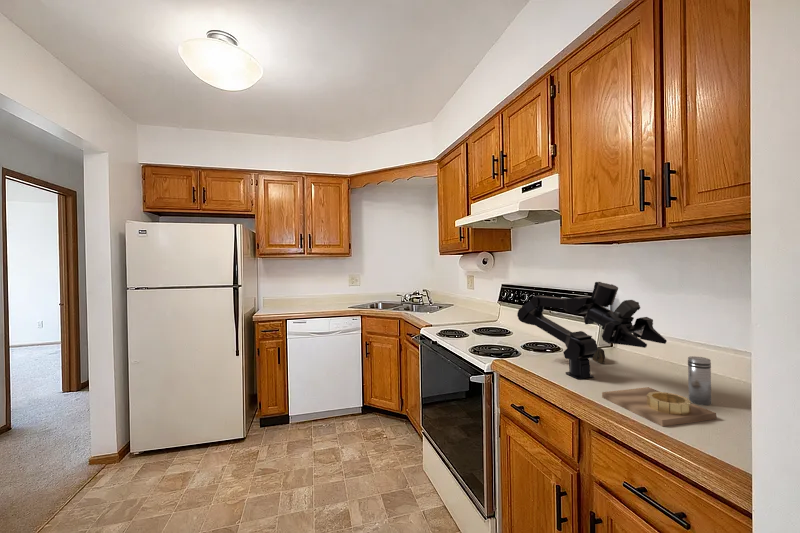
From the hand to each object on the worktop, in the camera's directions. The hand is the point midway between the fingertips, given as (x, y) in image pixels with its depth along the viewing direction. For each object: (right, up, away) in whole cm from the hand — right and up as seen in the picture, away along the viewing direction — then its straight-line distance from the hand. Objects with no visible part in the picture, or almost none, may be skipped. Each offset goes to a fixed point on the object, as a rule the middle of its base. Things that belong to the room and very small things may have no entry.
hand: (656, 344), depth 100 cm
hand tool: (+8, -16, +47) cm, 50 cm away
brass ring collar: (-3, -15, -8) cm, 17 cm away
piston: (+11, -16, -1) cm, 19 cm away
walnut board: (-4, -16, -4) cm, 17 cm away
